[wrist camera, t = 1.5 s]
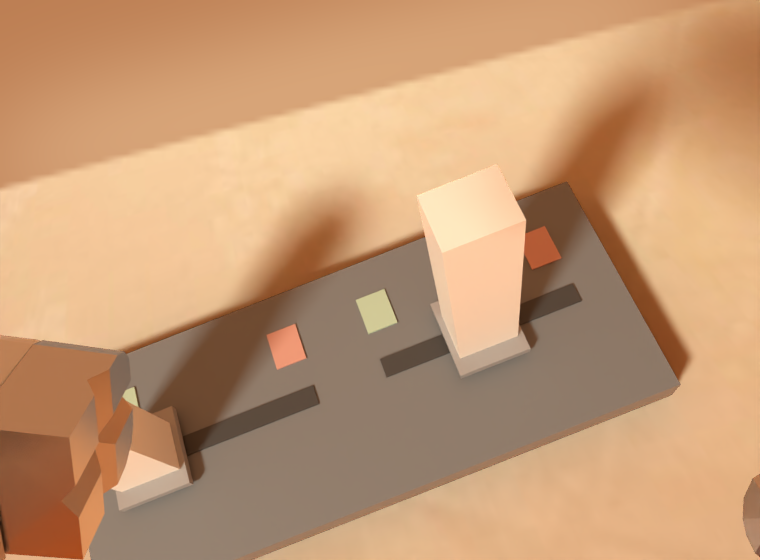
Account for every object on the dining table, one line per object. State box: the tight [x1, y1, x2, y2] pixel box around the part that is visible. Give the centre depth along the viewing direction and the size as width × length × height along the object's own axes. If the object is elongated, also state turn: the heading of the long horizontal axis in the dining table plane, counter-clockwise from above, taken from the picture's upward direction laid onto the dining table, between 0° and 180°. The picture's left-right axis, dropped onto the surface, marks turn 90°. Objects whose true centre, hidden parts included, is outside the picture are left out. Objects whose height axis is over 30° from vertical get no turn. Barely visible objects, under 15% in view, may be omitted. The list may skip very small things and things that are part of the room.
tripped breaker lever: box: [417, 164, 531, 379], centre depth 30 cm, size 4×4×12 cm
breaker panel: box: [89, 182, 681, 560], centre depth 37 cm, size 29×12×2 cm, turn 110°
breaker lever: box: [111, 401, 193, 511], centre depth 30 cm, size 4×4×12 cm
